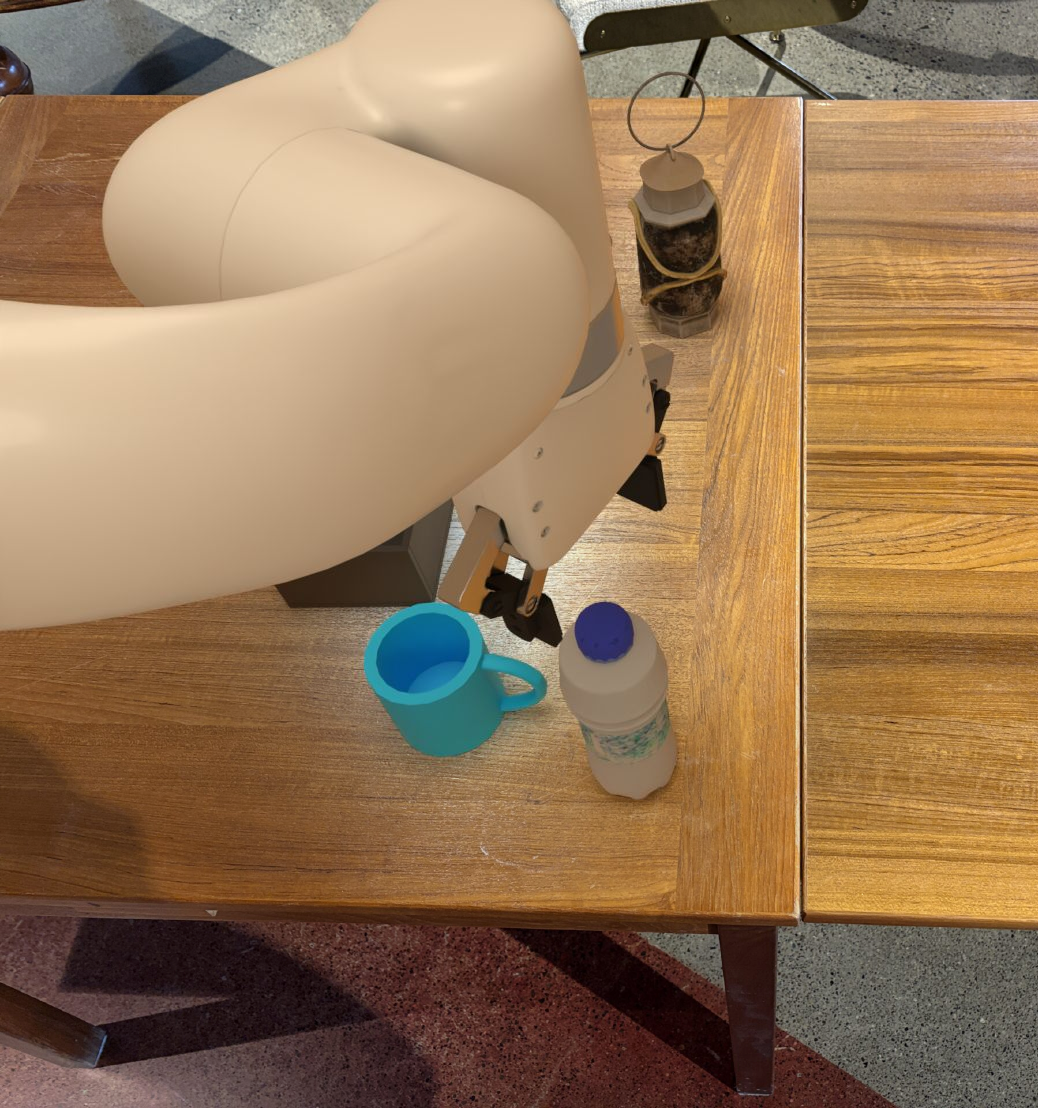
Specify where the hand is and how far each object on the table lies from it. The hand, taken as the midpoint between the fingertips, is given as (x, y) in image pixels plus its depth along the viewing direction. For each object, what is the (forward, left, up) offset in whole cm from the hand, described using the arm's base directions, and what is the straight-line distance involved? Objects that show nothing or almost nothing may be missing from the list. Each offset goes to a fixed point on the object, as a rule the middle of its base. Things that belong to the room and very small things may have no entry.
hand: (590, 562), depth 56 cm
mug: (-2, +13, -26) cm, 29 cm away
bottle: (0, 0, -26) cm, 25 cm away
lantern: (+42, +22, -26) cm, 54 cm away
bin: (+5, +30, -25) cm, 39 cm away
